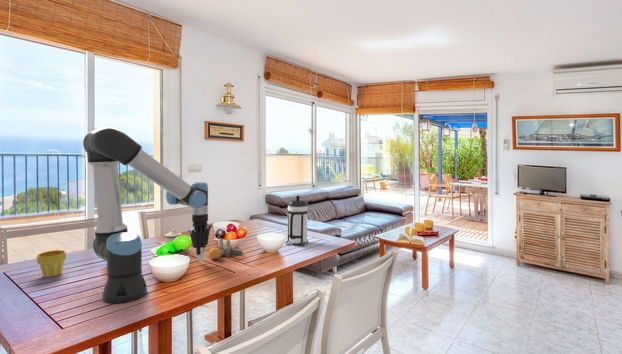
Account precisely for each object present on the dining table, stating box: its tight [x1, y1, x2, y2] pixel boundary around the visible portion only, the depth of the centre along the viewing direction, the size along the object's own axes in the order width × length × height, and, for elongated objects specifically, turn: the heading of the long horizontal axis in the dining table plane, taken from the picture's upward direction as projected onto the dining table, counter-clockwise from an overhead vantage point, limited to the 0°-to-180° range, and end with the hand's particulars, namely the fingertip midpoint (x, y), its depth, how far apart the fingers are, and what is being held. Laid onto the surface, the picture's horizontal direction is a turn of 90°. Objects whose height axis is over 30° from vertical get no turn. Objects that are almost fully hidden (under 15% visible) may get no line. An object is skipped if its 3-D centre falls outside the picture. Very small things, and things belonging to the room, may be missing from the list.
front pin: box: [219, 244, 232, 258], centre depth 185 cm, size 2×2×8 cm
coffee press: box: [285, 195, 309, 247], centre depth 208 cm, size 17×16×30 cm
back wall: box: [223, 246, 243, 256], centre depth 189 cm, size 2×16×2 cm, turn 63°
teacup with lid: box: [164, 229, 183, 244], centre depth 193 cm, size 12×9×12 cm
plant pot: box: [36, 249, 67, 278], centre depth 152 cm, size 10×10×10 cm
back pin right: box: [224, 239, 231, 258], centre depth 183 cm, size 2×2×8 cm
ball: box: [208, 247, 221, 260], centre depth 178 cm, size 6×6×6 cm
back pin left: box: [217, 238, 224, 251], centre depth 186 cm, size 2×2×8 cm
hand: (200, 260), depth 169 cm, fingers closed
